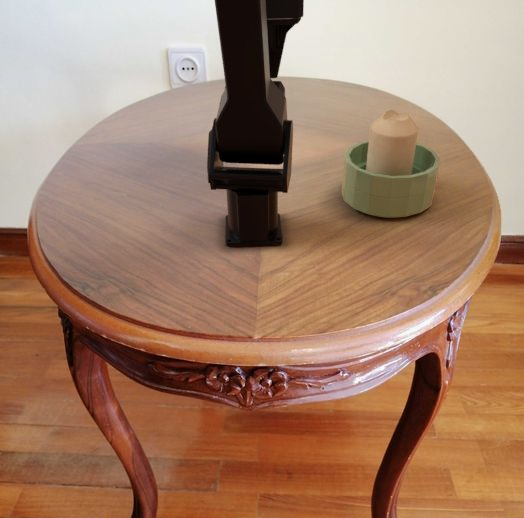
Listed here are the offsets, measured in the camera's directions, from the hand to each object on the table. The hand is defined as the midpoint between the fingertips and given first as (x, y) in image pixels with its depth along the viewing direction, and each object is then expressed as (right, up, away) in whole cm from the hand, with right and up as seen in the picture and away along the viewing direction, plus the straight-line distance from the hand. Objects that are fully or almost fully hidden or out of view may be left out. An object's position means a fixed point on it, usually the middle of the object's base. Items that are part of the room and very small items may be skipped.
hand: (270, 66), depth 74 cm
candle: (+14, -16, 0) cm, 22 cm away
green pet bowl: (+15, -17, +1) cm, 22 cm away
